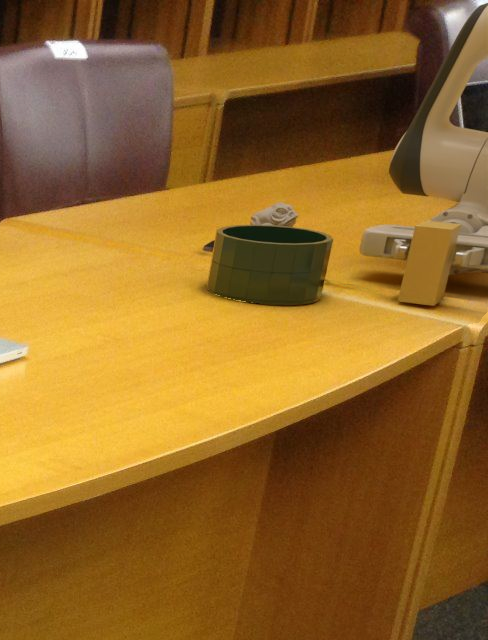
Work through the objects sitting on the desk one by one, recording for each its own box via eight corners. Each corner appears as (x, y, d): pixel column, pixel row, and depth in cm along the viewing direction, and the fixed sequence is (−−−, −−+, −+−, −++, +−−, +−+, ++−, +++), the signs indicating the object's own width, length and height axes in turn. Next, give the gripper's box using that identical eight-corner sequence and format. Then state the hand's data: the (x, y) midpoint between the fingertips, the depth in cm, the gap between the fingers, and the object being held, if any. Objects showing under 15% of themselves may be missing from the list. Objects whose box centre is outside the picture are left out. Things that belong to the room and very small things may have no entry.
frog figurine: (281, 254, 236) (292, 208, 233) (237, 247, 240) (247, 201, 237) (296, 249, 240) (307, 203, 237) (253, 241, 244) (263, 196, 241)
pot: (333, 291, 212) (346, 232, 208) (301, 310, 201) (314, 248, 198) (227, 277, 220) (237, 220, 216) (190, 295, 210) (201, 235, 206)
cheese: (442, 299, 207) (461, 224, 203) (433, 306, 204) (452, 229, 199) (406, 295, 210) (424, 220, 205) (397, 301, 206) (415, 225, 202)
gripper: (379, 210, 218) (352, 223, 208) (541, 226, 206) (520, 240, 196) (369, 255, 220) (342, 270, 211) (528, 273, 209) (507, 290, 199)
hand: (429, 256), depth 204 cm, fingers open, 6 cm apart
